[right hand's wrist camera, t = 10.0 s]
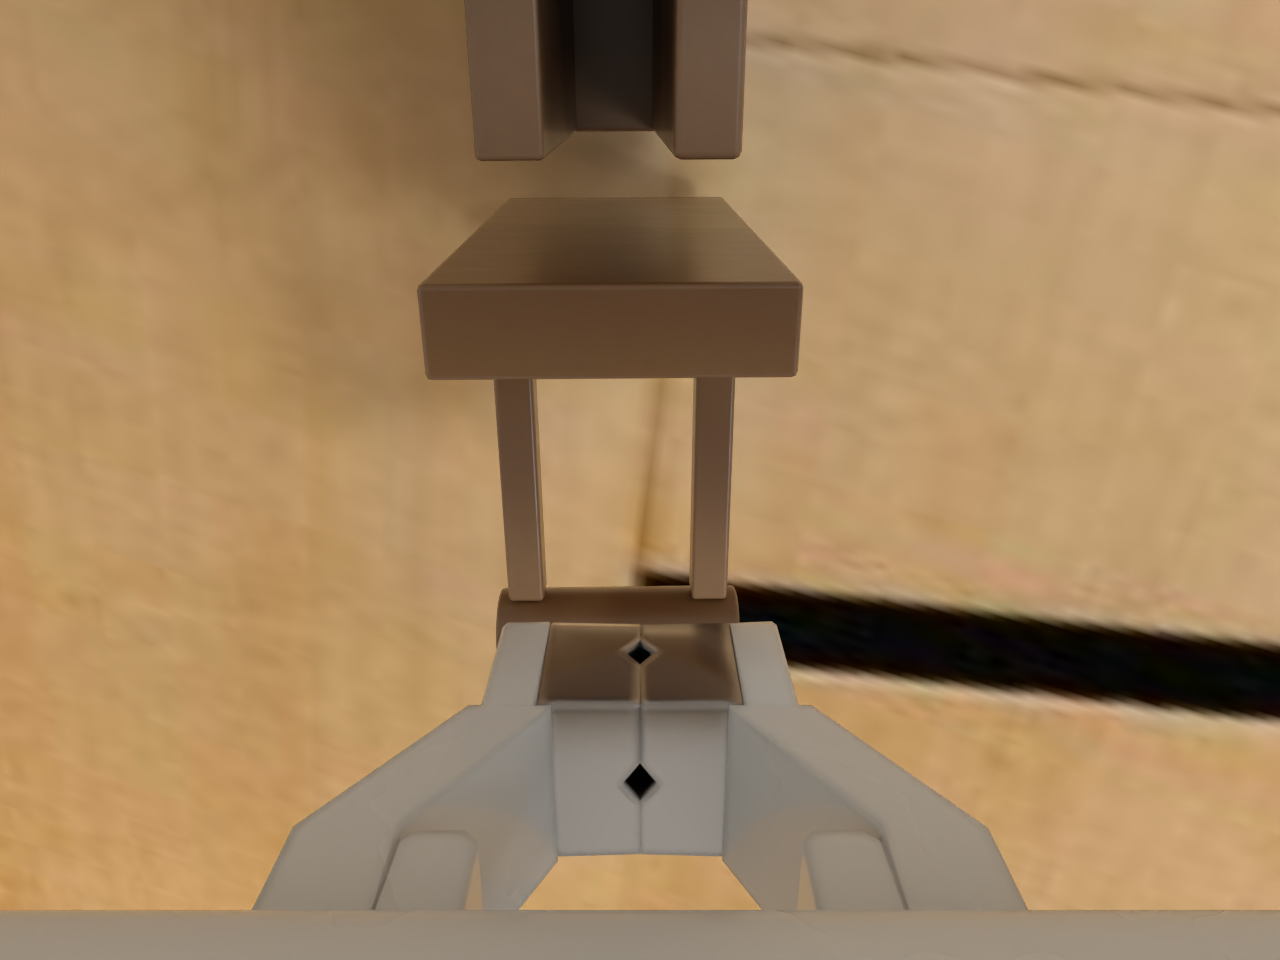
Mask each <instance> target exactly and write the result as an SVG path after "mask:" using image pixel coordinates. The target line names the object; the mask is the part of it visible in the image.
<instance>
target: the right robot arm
mask: <svg viewBox="0 0 1280 960" xmlns="http://www.w3.org/2000/svg"><path fill="white" fill-rule="evenodd" d="M621 854H656V855H693V856H723V857H722V860H723V861H724V863H725V864H726V865H727V866H728V868H729V869H730V870H731V871H732V873H733V874H734V875H735V877H736V878H737V879H738V880H739V882H740V883H741V884H742V885H743V887H744V888H745V889H746V890H747V892H748V893H749V894H750V895H751V897H752V898H753V899H754V900H755V902H756V903H757V904H758V905H759V907H760V908H761V909H762V910H519V909H520V907H521V906H522V905H523V904H524V902H525V901H526V900H527V899H528V897H529V896H530V895H531V894H532V892H533V891H534V890H535V889H536V887H537V886H538V885H539V884H540V882H541V881H542V880H543V879H544V877H545V876H546V875H547V874H548V872H549V871H550V870H551V869H552V867H553V866H554V865H555V864H556V862H557V861H558V856H586V855H621ZM0 960H1280V910H1028V909H1027V907H1026V905H1025V903H1024V901H1023V899H1022V896H1021V894H1020V892H1019V890H1018V888H1017V886H1016V884H1015V882H1014V880H1013V878H1012V876H1011V874H1010V872H1009V870H1008V868H1007V866H1006V864H1005V862H1004V860H1003V858H1002V856H1001V854H1000V852H999V850H998V848H997V846H996V843H995V841H994V839H993V837H992V835H991V833H990V831H989V829H988V828H987V827H986V826H984V825H983V824H981V823H980V822H979V821H977V820H976V819H974V818H973V817H971V816H970V815H969V814H967V813H966V812H964V811H963V810H961V809H960V808H958V807H957V806H956V805H954V804H953V803H951V802H950V801H948V800H947V799H946V798H944V797H943V796H941V795H940V794H938V793H937V792H935V791H934V790H933V789H931V788H930V787H928V786H927V785H925V784H924V783H923V782H921V781H920V780H918V779H917V778H915V777H914V776H912V775H911V774H910V773H908V772H907V771H905V770H904V769H902V768H901V767H900V766H898V765H897V764H895V763H894V762H892V761H891V760H889V759H888V758H887V757H885V756H884V755H882V754H881V753H879V752H878V751H876V750H875V749H874V748H872V747H871V746H869V745H868V744H866V743H865V742H864V741H862V740H861V739H859V738H858V737H856V736H855V735H853V734H852V733H851V732H849V731H848V730H846V729H845V728H843V727H842V726H841V725H839V724H838V723H836V722H835V721H833V720H832V719H830V718H829V717H828V716H826V715H825V714H823V713H822V712H820V711H819V710H818V709H816V708H815V707H813V706H812V705H798V701H797V697H796V694H795V690H794V687H793V683H792V679H791V676H790V672H789V669H788V665H787V661H786V658H785V654H784V651H783V647H782V643H781V640H780V636H779V633H778V629H777V625H776V624H774V623H773V622H748V623H704V624H662V625H640V624H600V623H552V625H551V624H550V622H513V623H507V624H506V625H505V626H504V627H503V628H502V632H501V635H500V639H499V643H498V646H497V650H496V654H495V657H494V661H493V664H492V668H491V672H490V675H489V679H488V683H487V686H486V690H485V694H484V697H483V701H482V705H468V706H467V707H465V708H464V709H463V710H461V711H460V712H458V713H457V714H455V715H454V716H452V717H451V718H450V719H448V720H447V721H445V722H444V723H442V724H441V725H439V726H438V727H437V728H435V729H434V730H432V731H431V732H429V733H428V734H426V735H425V736H424V737H422V738H421V739H419V740H418V741H416V742H415V743H413V744H412V745H411V746H409V747H408V748H406V749H405V750H403V751H402V752H400V753H399V754H398V755H396V756H395V757H393V758H392V759H390V760H389V761H387V762H386V763H384V764H383V765H382V766H380V767H379V768H377V769H376V770H374V771H373V772H371V773H370V774H369V775H367V776H366V777H364V778H363V779H361V780H360V781H358V782H357V783H356V784H354V785H353V786H351V787H350V788H348V789H347V790H345V791H344V792H343V793H341V794H340V795H338V796H337V797H335V798H334V799H332V800H331V801H330V802H328V803H327V804H325V805H324V806H322V807H321V808H319V809H318V810H317V811H315V812H314V813H312V814H311V815H309V816H308V817H306V818H305V819H304V820H302V821H301V822H299V823H298V824H296V825H295V826H293V828H292V830H291V832H290V834H289V836H288V838H287V840H286V842H285V844H284V846H283V848H282V850H281V852H280V854H279V856H278V858H277V860H276V862H275V864H274V866H273V868H272V871H271V873H270V875H269V877H268V879H267V881H266V883H265V885H264V887H263V889H262V891H261V893H260V895H259V897H258V899H257V901H256V903H255V905H254V907H253V909H252V910H0Z"/></svg>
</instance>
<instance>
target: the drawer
mask: <svg viewBox="0 0 1280 960" xmlns="http://www.w3.org/2000/svg"><path fill="white" fill-rule="evenodd" d="M464 2H465V16H466V30H467V44H468V58H469V72H470V86H471V100H472V114H473V128H474V143H475V156H476V158H477V159H478V160H480V161H509V160H542V159H543V158H545V157H546V156H547V155H548V154H549V153H550V152H552V151H553V150H554V149H555V148H556V147H557V146H559V145H560V144H561V143H562V142H563V141H565V140H566V139H567V138H568V137H569V136H570V135H572V134H573V133H574V132H575V131H655V132H656V133H657V135H658V136H659V137H660V138H661V140H662V141H663V142H664V143H665V145H666V146H667V147H668V148H669V150H670V151H671V152H672V153H673V154H674V156H675V157H677V158H679V159H735V158H737V157H739V156H740V153H741V151H742V129H743V103H744V77H745V51H746V25H747V0H464ZM417 293H418V303H419V313H420V323H421V333H422V343H423V353H424V363H425V373H426V376H427V378H428V379H431V380H494V390H495V404H496V418H497V433H498V447H499V461H500V476H501V490H502V504H503V519H504V533H505V547H506V562H507V576H508V588H505V589H502V591H501V594H500V597H499V601H498V609H497V622H496V649H497V646H498V643H499V639H500V635H501V632H502V628H503V627H504V626H505V625H506V624H507V623H513V622H550V624H551V625H552V623H600V624H640V625H662V624H704V623H739V609H738V600H737V595H736V591H735V589H734V587H733V586H731V585H727V572H728V547H729V521H730V496H731V470H732V445H733V420H734V394H735V377H792V376H795V375H796V373H797V371H798V359H799V344H800V329H801V314H802V299H803V286H802V283H801V282H800V281H799V280H798V279H797V278H796V277H795V275H794V274H793V273H792V272H791V271H790V270H789V269H788V268H787V267H786V266H785V265H784V264H783V263H782V262H781V260H780V259H779V258H778V257H777V256H776V255H775V254H774V253H773V252H772V251H771V250H770V249H769V248H768V247H767V246H766V244H765V243H764V242H763V241H762V240H761V239H760V238H759V237H758V236H757V235H756V234H755V233H754V232H753V231H752V229H751V228H750V227H749V226H748V225H747V224H746V223H745V222H744V221H743V220H742V219H741V218H740V217H739V216H738V214H737V213H736V212H735V211H734V210H733V209H732V208H731V207H730V206H729V205H728V204H727V203H726V202H725V201H724V199H723V198H720V197H683V198H511V199H509V200H508V201H507V202H506V203H505V204H504V205H503V206H502V207H501V208H500V209H499V210H498V211H496V212H495V213H494V214H493V215H492V216H491V217H490V218H489V219H488V220H487V221H486V222H485V223H484V224H483V225H482V226H481V227H480V228H479V229H478V230H477V231H476V232H475V233H473V234H472V235H471V236H470V237H469V238H468V239H467V240H466V241H465V242H464V243H463V244H462V245H461V246H460V247H459V248H458V249H457V250H456V251H455V252H454V253H453V254H451V255H450V256H449V257H448V258H447V259H446V260H445V261H444V262H443V263H442V264H441V265H440V266H439V267H438V268H437V269H436V270H435V271H434V272H433V273H432V274H431V275H430V276H428V277H427V278H426V279H425V280H424V281H423V282H422V283H421V284H420V285H419V286H418V290H417ZM617 378H694V388H693V436H692V485H691V534H690V586H635V587H553V588H546V566H545V546H544V526H543V506H542V487H541V467H540V447H539V428H538V408H537V388H536V379H617Z"/></svg>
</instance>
